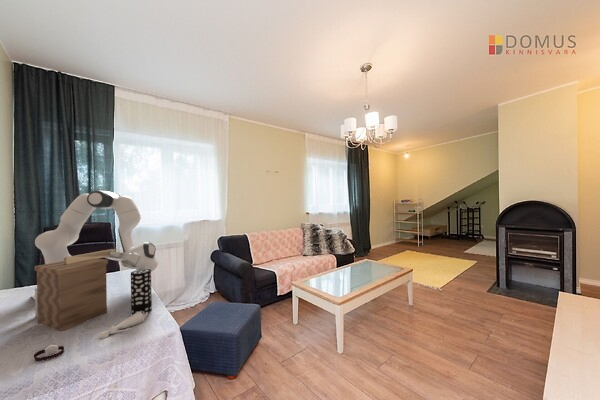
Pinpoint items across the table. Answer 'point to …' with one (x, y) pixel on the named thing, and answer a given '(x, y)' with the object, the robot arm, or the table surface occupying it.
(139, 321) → the woman figurine
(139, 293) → the white-spotted black cylinder
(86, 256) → the rod
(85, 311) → the stand
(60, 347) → the watch
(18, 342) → the table surface
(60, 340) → the table surface
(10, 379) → the table surface
